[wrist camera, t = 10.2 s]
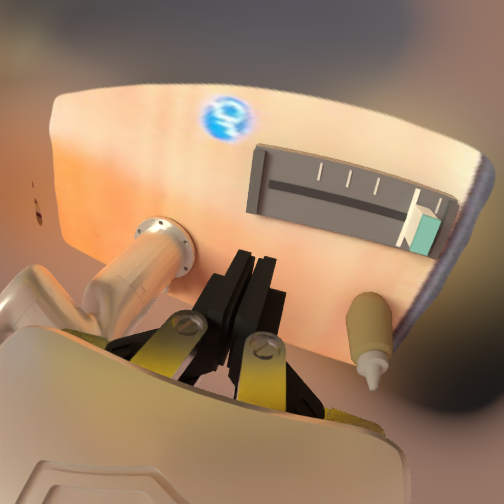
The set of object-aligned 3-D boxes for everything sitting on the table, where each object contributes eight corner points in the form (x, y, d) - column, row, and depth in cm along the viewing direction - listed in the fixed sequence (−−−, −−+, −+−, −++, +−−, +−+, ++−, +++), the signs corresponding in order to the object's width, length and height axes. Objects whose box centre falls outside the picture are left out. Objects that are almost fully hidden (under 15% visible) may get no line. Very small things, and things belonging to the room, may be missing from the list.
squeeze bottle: (371, 326, 49) (376, 407, 34) (336, 310, 50) (333, 395, 34) (397, 297, 45) (414, 380, 30) (361, 279, 45) (369, 365, 30)
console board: (430, 251, 39) (436, 261, 37) (250, 207, 43) (245, 214, 41) (452, 195, 34) (460, 202, 32) (259, 143, 38) (254, 146, 36)
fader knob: (418, 239, 37) (426, 255, 33) (403, 235, 37) (410, 251, 33) (430, 208, 34) (441, 221, 30) (414, 203, 34) (424, 215, 30)
